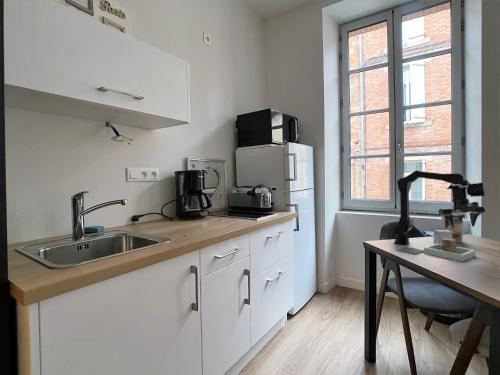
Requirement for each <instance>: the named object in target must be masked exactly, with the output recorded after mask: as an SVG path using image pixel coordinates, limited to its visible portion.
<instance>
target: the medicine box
mask: <svg viewBox="0 0 500 375" xmlns="http://www.w3.org/2000/svg"><path fill="white" fill-rule="evenodd" d="M444 238H450V239H452V231H449V230H442V229H434V230H433V245H434V244H437V243H438V244H442V239H444Z"/></svg>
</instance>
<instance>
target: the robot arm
mask: <svg viewBox="0 0 500 375" xmlns="http://www.w3.org/2000/svg"><path fill="white" fill-rule="evenodd" d="M420 178H421V179H428V180H436V181H443V182H446V183H448V184H449V186H447V188H446V189H447V190H451V194H452V198H451V202H452V204H453V206H452V209H451V208H443V207H442V208H439V209H438V215H441V216H442V215H443V216H445V218H446V219H447V220H448V222H449V224H450V225H451V227H452V228H454V224H453V215H451V214H456V213H466V214H467V213H469V218H470V219H469V220H470V224H471V227H475V226H476V222H477V219H478V217H479V216H480V215H483V213H486V209H485V207H484V206H481V205H479V202H478V201H473V202H470V200H469V198H467V196H470V197H471V198H473V197H475V198H476V197H486V195H487V193H486V192H487V191H486V187H485V184H484V182H478V183H477V182H476V183H471V182H469V181H468V180H467V179H466V176H465V175H464V174H463V173H459V172H458V173H456V172H455V173H454V172H453V173H439V172H432V171H425V170H424V171H421V170H415V171H413V172H411V173H410V174H408V175H406V176H404V177H401V178H399V179H398V180H397V182H396V183H397V184H396V185H397V187H398V191H399V195H400V198H399V199H400V201H399V202H400V204H399V205H400V217H399V220H398V224H397V227H396V228H394V230H393V233H394V241H393V242H392V243H393V244H397V245H401V246H406V245H409V244H410V243H411V242H410V236H409V231H411V230H412V229H413V227H414V224H413V223H414V219H413V218H412V219H411V217H410V191H411V188H412V183H414V182H416V181H417V180H418V179H420Z"/></svg>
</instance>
